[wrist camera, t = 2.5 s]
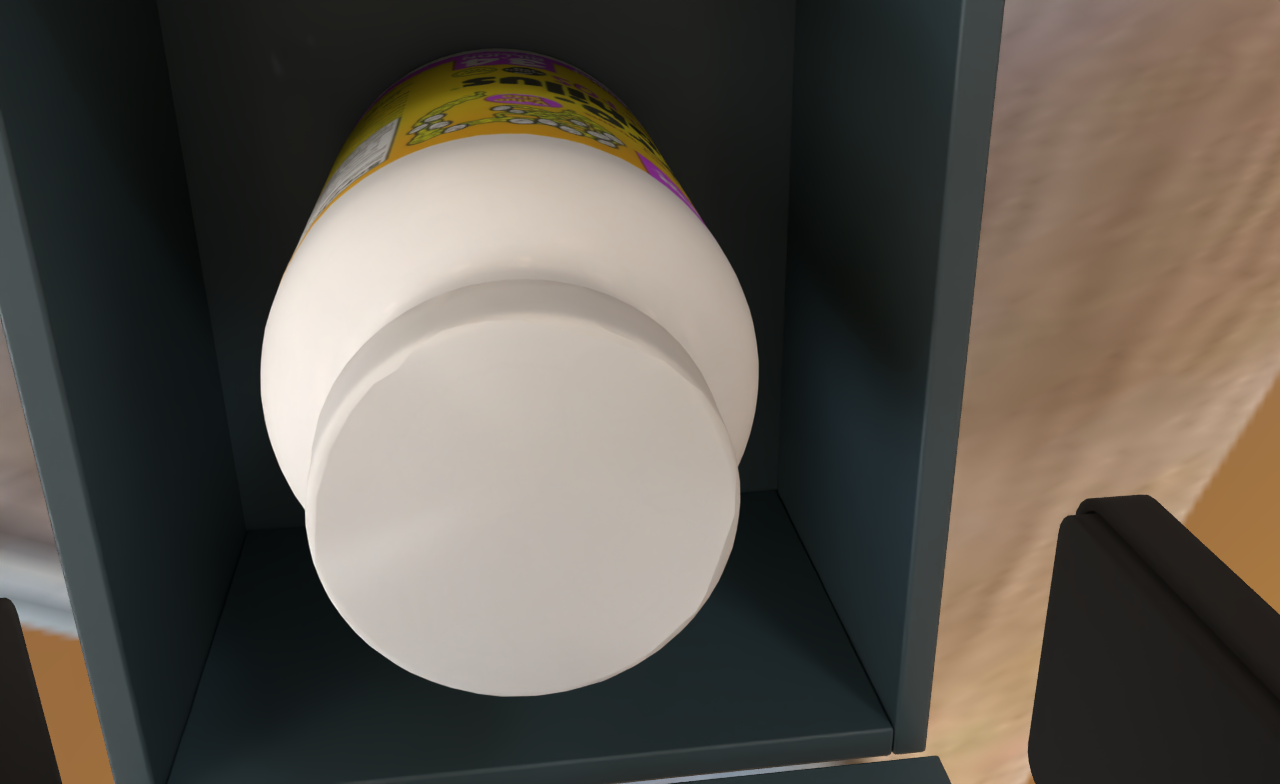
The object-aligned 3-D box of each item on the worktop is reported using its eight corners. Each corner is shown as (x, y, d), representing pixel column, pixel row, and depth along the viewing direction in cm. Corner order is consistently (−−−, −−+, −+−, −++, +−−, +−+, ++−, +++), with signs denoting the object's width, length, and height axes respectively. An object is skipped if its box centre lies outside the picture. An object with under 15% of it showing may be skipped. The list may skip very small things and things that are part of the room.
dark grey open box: (95, -205, 21) (-140, -244, 13) (826, -211, 23) (1033, -249, 14) (227, 541, 27) (125, 836, 19) (794, 496, 29) (926, 753, 21)
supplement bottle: (726, 177, 25) (959, 460, 13) (534, 415, 26) (589, 854, 15) (460, -36, 22) (454, 80, 11) (265, 240, 24) (80, 597, 12)
